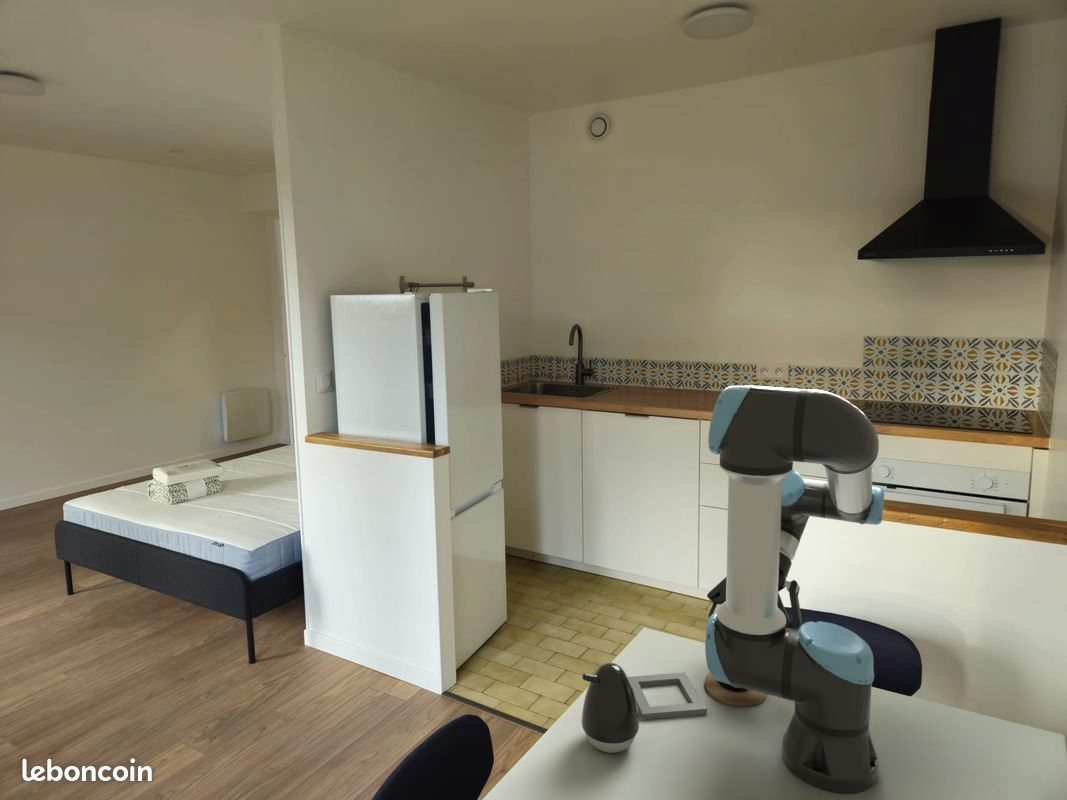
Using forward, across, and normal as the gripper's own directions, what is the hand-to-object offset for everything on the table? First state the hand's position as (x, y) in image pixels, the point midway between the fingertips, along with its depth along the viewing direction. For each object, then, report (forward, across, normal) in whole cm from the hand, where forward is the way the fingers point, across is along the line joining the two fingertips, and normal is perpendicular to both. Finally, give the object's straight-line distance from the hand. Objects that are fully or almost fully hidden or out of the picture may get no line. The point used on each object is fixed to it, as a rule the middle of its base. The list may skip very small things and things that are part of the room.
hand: (739, 646), depth 141 cm
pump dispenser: (+29, +9, +17) cm, 35 cm away
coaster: (+7, 0, -5) cm, 9 cm away
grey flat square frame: (+16, +9, +4) cm, 18 cm away
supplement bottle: (+7, 0, -4) cm, 8 cm away
